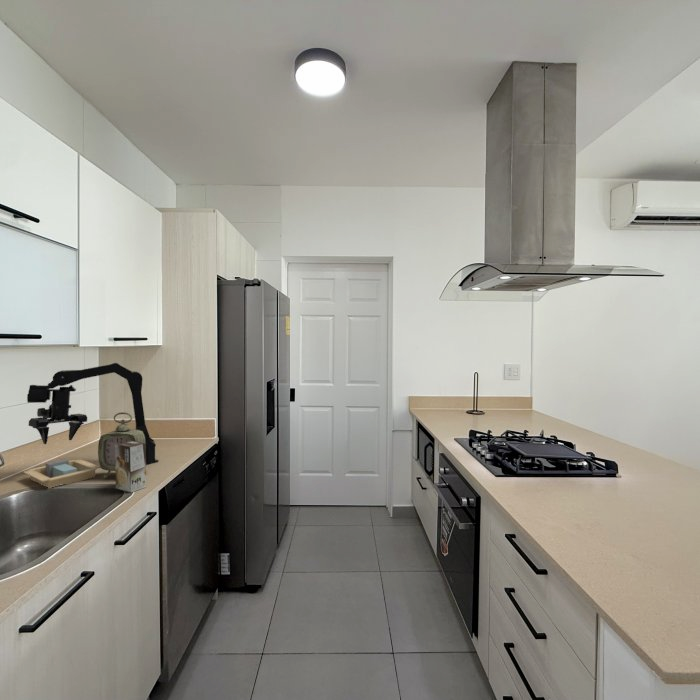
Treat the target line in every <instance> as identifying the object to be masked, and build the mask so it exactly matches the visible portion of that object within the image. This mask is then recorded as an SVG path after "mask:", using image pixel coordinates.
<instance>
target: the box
mask: <svg viewBox="0 0 700 700" xmlns="http://www.w3.org/2000/svg"><path fill="white" fill-rule="evenodd" d="M69 461H70V460H68V459H65V458H64V459H60V460H56V461H50V462H46V463H45V466H46V476H47V477H49V478H53V477H57V476H61V475H65V474H69V473H74V472H78V471H77V468H75V467H72V466H70V465H69Z"/></svg>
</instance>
